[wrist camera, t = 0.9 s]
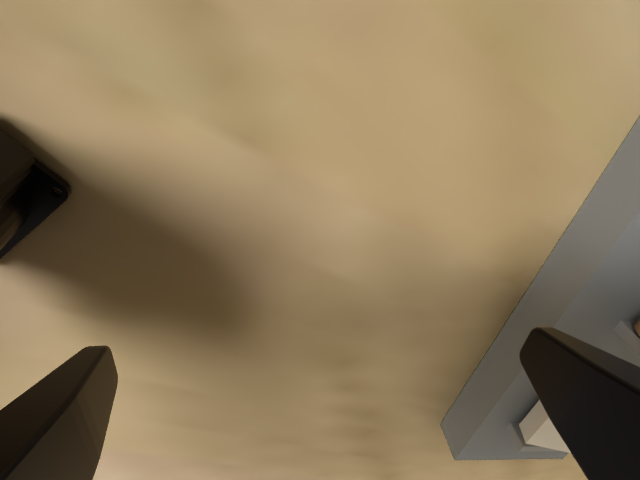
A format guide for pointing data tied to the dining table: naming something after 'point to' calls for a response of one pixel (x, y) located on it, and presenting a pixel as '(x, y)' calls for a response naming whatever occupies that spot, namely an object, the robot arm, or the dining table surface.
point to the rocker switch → (541, 430)
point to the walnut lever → (637, 325)
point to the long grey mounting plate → (561, 314)
